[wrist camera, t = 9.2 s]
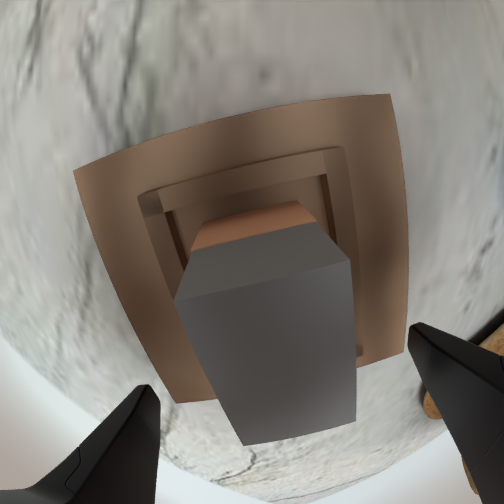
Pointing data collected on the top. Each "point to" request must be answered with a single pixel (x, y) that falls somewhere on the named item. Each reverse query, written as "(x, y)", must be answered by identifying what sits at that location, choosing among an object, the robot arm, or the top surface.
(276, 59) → the top surface
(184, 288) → the block
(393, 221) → the walnut cradle stand
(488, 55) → the top surface
